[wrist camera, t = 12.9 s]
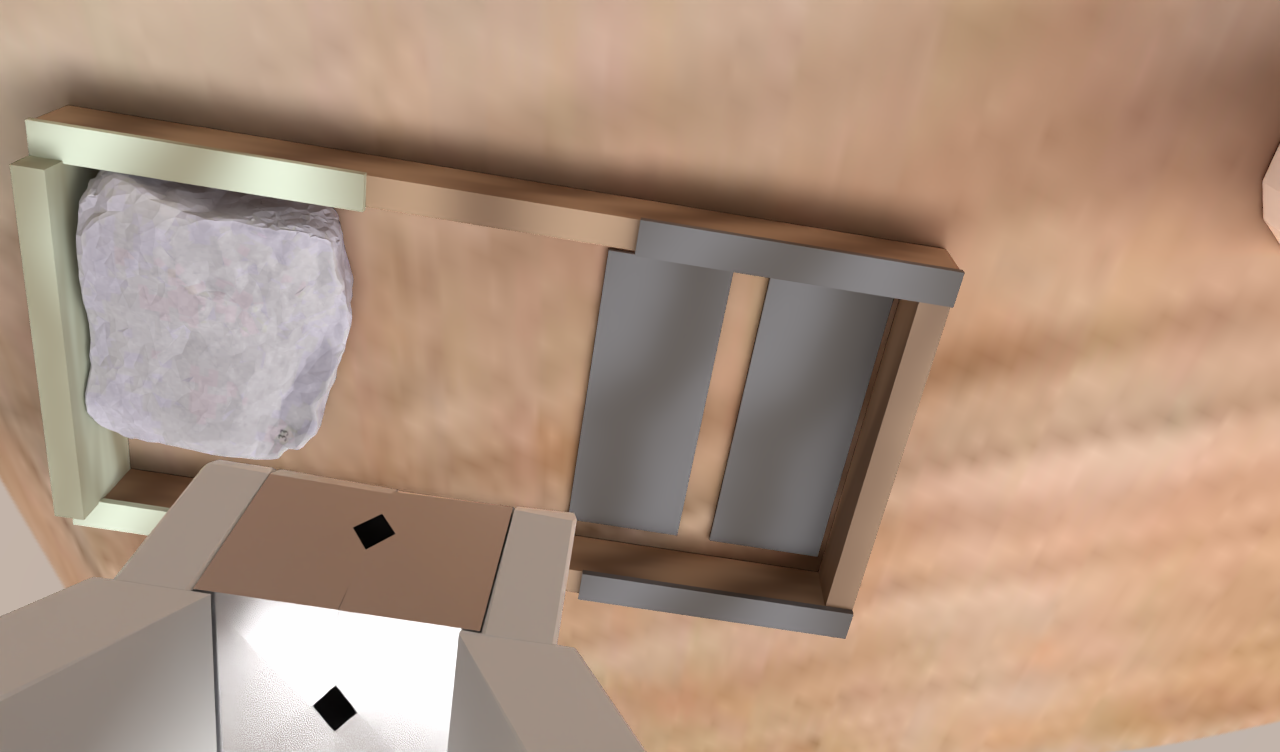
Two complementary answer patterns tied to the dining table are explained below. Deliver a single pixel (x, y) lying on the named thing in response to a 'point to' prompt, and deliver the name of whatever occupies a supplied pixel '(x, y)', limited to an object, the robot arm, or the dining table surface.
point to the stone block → (210, 314)
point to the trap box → (620, 371)
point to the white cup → (1272, 196)
